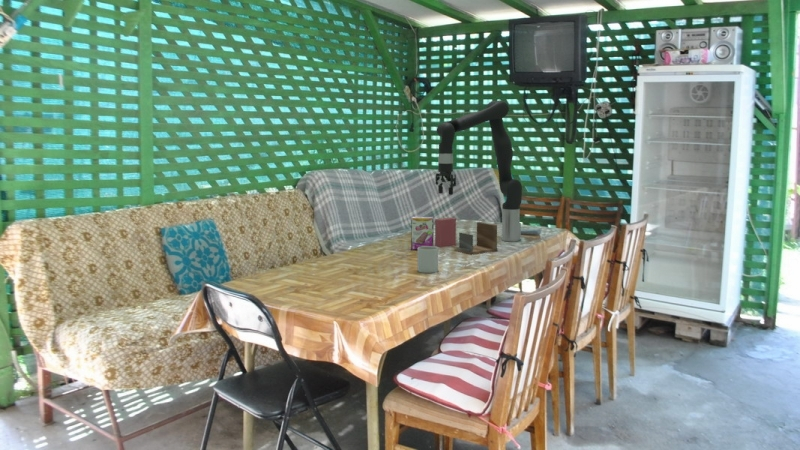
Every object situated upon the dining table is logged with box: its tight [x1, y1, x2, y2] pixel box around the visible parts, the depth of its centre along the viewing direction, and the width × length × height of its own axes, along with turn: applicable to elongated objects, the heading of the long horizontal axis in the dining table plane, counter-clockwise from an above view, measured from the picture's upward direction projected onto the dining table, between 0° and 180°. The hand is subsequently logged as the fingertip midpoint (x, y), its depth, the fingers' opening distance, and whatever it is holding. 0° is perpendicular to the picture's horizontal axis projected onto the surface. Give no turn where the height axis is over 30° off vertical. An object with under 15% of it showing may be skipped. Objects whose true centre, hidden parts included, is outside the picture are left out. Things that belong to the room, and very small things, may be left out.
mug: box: [416, 245, 439, 274], centre depth 288 cm, size 11×10×10 cm
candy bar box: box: [410, 216, 435, 251], centre depth 337 cm, size 11×5×16 cm, turn 84°
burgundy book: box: [434, 217, 457, 248], centre depth 348 cm, size 10×4×14 cm, turn 123°
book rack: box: [453, 221, 498, 256], centre depth 332 cm, size 17×13×13 cm
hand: (445, 194), depth 345 cm, fingers open, 8 cm apart
